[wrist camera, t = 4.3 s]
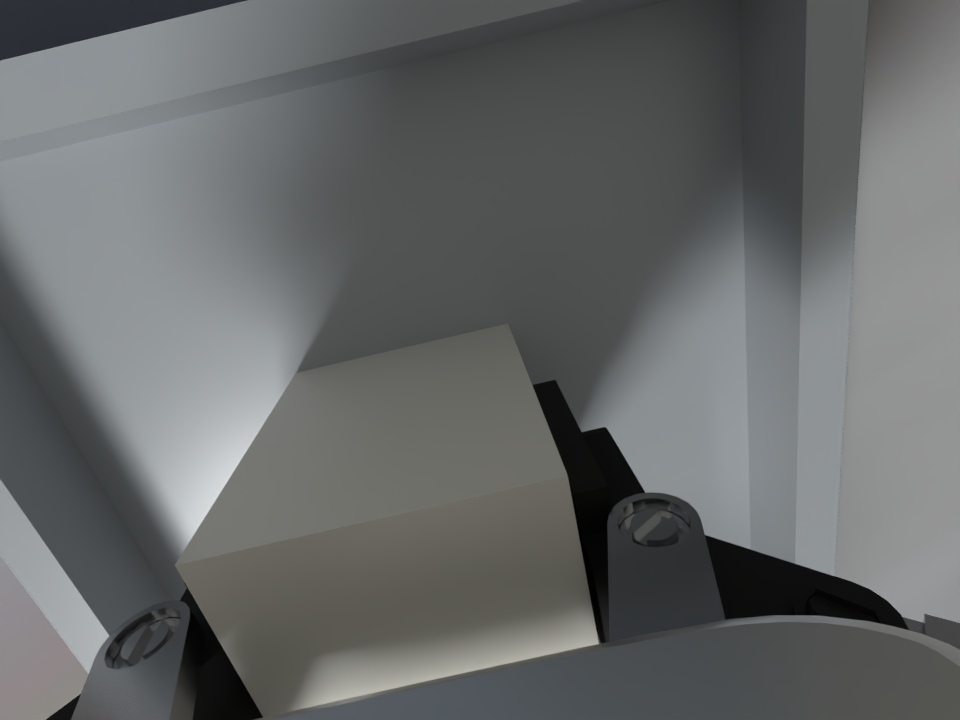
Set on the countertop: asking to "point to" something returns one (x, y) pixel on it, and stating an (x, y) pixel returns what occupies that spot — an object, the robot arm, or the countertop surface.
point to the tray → (421, 252)
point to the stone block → (393, 529)
